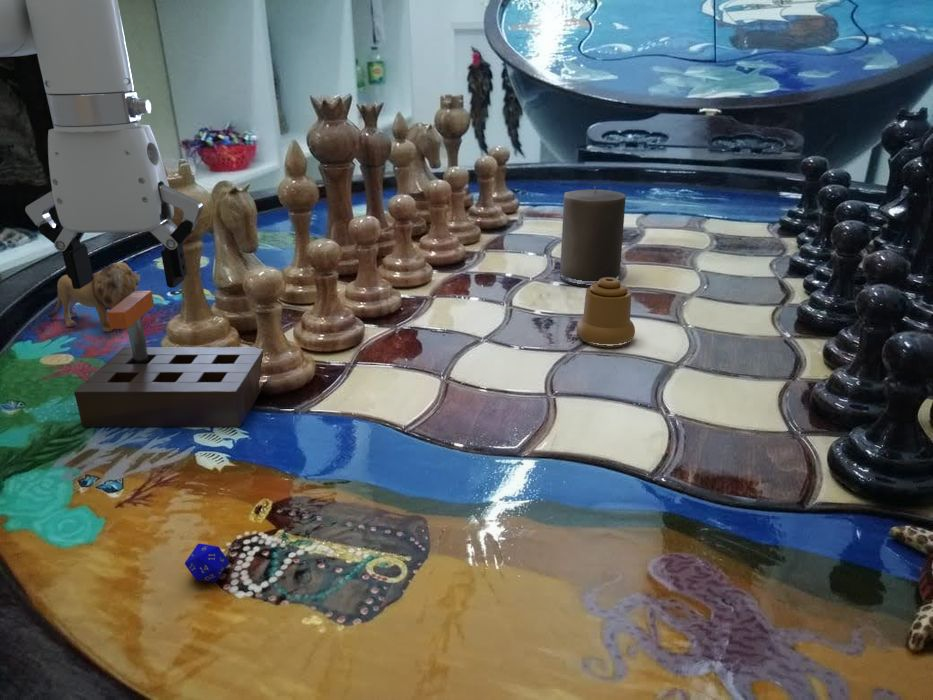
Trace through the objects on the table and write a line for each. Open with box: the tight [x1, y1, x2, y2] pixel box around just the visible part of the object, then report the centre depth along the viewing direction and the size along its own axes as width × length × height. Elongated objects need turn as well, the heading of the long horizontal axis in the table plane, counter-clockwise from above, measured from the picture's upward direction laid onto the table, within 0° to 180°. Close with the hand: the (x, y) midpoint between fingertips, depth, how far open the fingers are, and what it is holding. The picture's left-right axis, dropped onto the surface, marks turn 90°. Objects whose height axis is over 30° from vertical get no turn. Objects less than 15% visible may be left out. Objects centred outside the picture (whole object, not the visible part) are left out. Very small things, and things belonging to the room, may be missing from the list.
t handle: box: [107, 290, 155, 364], centre depth 79 cm, size 2×7×11 cm, turn 0°
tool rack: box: [74, 346, 266, 428], centre depth 78 cm, size 11×16×4 cm
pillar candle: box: [559, 185, 627, 288], centre depth 117 cm, size 10×10×15 cm
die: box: [184, 543, 230, 583], centre depth 53 cm, size 3×3×3 cm
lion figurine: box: [46, 261, 141, 333], centre depth 99 cm, size 15×5×9 cm, turn 79°
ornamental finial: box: [576, 277, 636, 349], centre depth 94 cm, size 8×8×8 cm
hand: (130, 284), depth 76 cm, fingers open, 9 cm apart
